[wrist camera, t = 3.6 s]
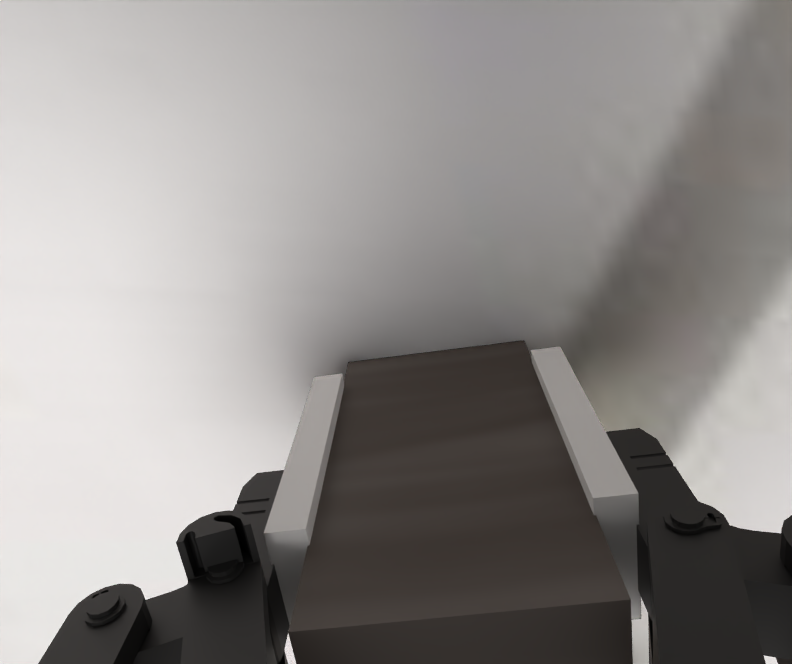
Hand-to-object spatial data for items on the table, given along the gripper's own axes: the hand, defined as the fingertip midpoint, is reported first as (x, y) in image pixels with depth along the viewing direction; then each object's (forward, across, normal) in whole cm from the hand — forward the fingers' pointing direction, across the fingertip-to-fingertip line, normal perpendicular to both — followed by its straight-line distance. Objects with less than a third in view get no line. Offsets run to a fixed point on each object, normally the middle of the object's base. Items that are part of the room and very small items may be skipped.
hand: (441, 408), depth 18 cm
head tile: (+2, 0, 0) cm, 2 cm away
